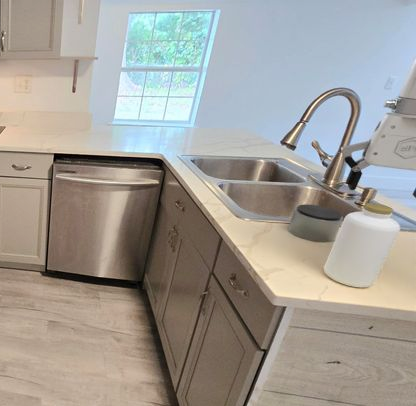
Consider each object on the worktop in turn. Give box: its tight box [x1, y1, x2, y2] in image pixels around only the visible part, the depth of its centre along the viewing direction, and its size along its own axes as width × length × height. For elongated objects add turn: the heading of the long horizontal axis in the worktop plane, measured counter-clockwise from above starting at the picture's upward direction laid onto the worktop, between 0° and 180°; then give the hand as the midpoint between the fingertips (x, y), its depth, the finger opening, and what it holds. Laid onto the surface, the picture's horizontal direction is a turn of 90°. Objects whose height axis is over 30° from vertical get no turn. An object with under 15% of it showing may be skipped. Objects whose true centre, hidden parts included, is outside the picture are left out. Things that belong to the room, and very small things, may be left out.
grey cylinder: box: [287, 204, 344, 243], centre depth 101 cm, size 10×10×7 cm
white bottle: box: [323, 202, 401, 288], centre depth 80 cm, size 8×8×18 cm
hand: (382, 192), depth 75 cm, fingers open, 9 cm apart
